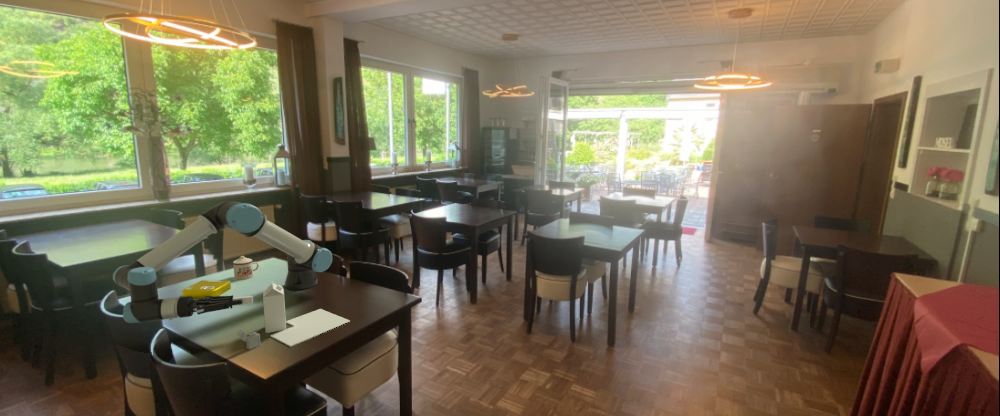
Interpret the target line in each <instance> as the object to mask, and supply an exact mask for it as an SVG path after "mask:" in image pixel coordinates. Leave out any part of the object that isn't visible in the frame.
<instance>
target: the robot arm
mask: <svg viewBox="0 0 1000 416" xmlns="http://www.w3.org/2000/svg"><path fill="white" fill-rule="evenodd" d="M197 217H198V218H197V220H194V222H192V223H190V224H189V225H187V226H186V227H185V228H183V229H181V230H180V231H179V232H177V233H176V234H174V235H173V236H171V237H170V238H169V239H166V240H165V241H164V242H162V243H161V244H159V245H157V246H156V247H155V248H153V249H152V250H151V251H149V252H147V253H145V254H144V255H142V256H141V257H140V258H138V259H137V260H135V261H133V262H132V263H130V264H129V265H128V264H127V265H126V264H125V265H122V266H119V267H117V268H116V269H115V270H114V272H113V273H112V280H113V281H114V282H115V283H116V285H118V286H119V287H122V288H124V289H125V290H127V291H129V295H130V301H129V302H126V303H125V304H124V306H123V309H122V318H123V320H124V321H125V322H126V323H128V324H134V323H146V322H147V323H148V322H154V321H162V320H163V321H164V320H170V321H172V320H173V319H178V318H180V319H181V318H188V317H189V318H190V317H192V316H193V315H194V313H196V314H197V315H202V314H206V313H211V312H216V311H222V310H227V309H233V306H235V307H236V306H244V305H245V306H246V305H251V304H254V296H253V295H247V296H236V297H234V295H233V294H232V295H220V296H206V299H204V298H201V299H193V297H192V296H186V297H183V296H180V297H177V296H176V297H167V298H159V289H158V276H157V272H158V271H160V270H161V269H162V268H164V267H166V266H167V265H169V264H170V263H172V262H173V261H174V260H175V259H177V258H178V257H180V256H181V255H183V254H184V253H185V252H187V251H188V250H190V249H191V248H193V247H194V246H196V245H197V244H199V243H200V242H201V241H203V240H205V238H208V236H210V235H212V234H217V233H219V232H220V231H222V230H225V229H229V230H232V231H235V232H236V233H239V234H241V235H243V236H244V237H246V238H253V237H254V238H256V239H259V240H260V241H262V242H264V243H266V244H268V245H270V246H271V247H273V248H275V249H278V250H279V251H282V252H283V253H285V254H286V259H287V260H286V261H287V262H286V263H287V273H286V277H285V281H284V288H286V289H288V290H292V291H294V290H304V289H305V290H306V289H309V288H312V287H315V286H316V285H317V284H318V277H317V275H316V273H317V272H318V273H324V272H325V271H327V270H328V269H329V268H330V266H331V265H332V263H333V254H332V251H330V250H329V249H328V248H326V247H322V246H320V245H318V244H316V243H315V242H312V240H311V239H310V240H309V239H303V240H302V239H301V238H299V237H297V236H296V235H294V234H292V233H290V232H288V230H285V229H284V228H282V227H280V226H278V225H276V224H275V223H273V222H272V221H270V220H268V219H267V215H266V214H265V213H263V212H261V209H259V208H258V207H256V206H255V205H253V204H251V203H248V202H240V201H239V202H238V201H234V200H225V201H221V202H220V203H217V204H215V205H213V206H212V207H210V208H209V209H207V210H205V211H204V212H202V213H200V215H198V216H197ZM315 272H316V273H315Z"/></svg>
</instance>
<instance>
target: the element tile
mask: <svg viewBox="0 0 1000 416" xmlns="http://www.w3.org/2000/svg"><path fill="white" fill-rule="evenodd" d="M231 289H232V285H231V281H230V280H216V279H215V280H207V279H205V280H199V281H198V282H196V283H194V284H191V285H190V286H188V287H186V288H183V289H182V290H181V293H182V297H186V296H192V297H193V299H194V300H198V299H201V298H204V299H206V296H222V295H223V294H225V293H226V292H228V291H230V290H231Z"/></svg>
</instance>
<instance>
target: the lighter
mask: <svg viewBox="0 0 1000 416" xmlns="http://www.w3.org/2000/svg"><path fill="white" fill-rule="evenodd" d="M236 334H237V335H238V337H239V338H240V339H241V341H243V342H246V349H247V350H252V349H254V348H258V347H259V346H261V343H262V342H261V334H260V333H258V332H255V331H253V332H251V333H249V335H248V336H247V335H246V334H245V332H244V331H243V330H241V329H239V330H238V331H237V332H236Z"/></svg>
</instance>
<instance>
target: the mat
mask: <svg viewBox="0 0 1000 416" xmlns="http://www.w3.org/2000/svg"><path fill="white" fill-rule="evenodd" d="M350 321H351V320H349V319H348V318H344V317H342V316H339V315H337V314H334V313H332V312H330V311H326V310H324V309H323V308H319V309H316V310H314V311H310V312H308V313H305V314H302V315H299V316H297V317H293V318H291V319H289V320H286V324H288V325H290V326H291V327H288V328H286V329H285V330H282V331H277V332H274V333H272V334H270V336H269V337H271V338H272V339H274V340H276V341H278V342H280V343H283V344H284V345H286V346H287V347H291V348H292V347H294V346H296V345H298V344H301V343H303V342H306V341H308V340H309V341H310V340H311V339H313V337H314V338H316V337H318V336H320V334H321V335H323V334H325V333H328V332H330V331H332V329H333V330H335V329H337V328H340V327H342V326H344V325H346V324H345V323H347V324H349V323H351V322H350ZM348 322H349V323H348ZM343 324H344V325H343ZM341 325H342V326H341ZM339 326H340V327H339ZM336 327H337V328H336ZM334 328H335V329H334ZM329 330H330V331H329ZM327 331H328V332H327ZM322 333H323V334H322Z"/></svg>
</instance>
